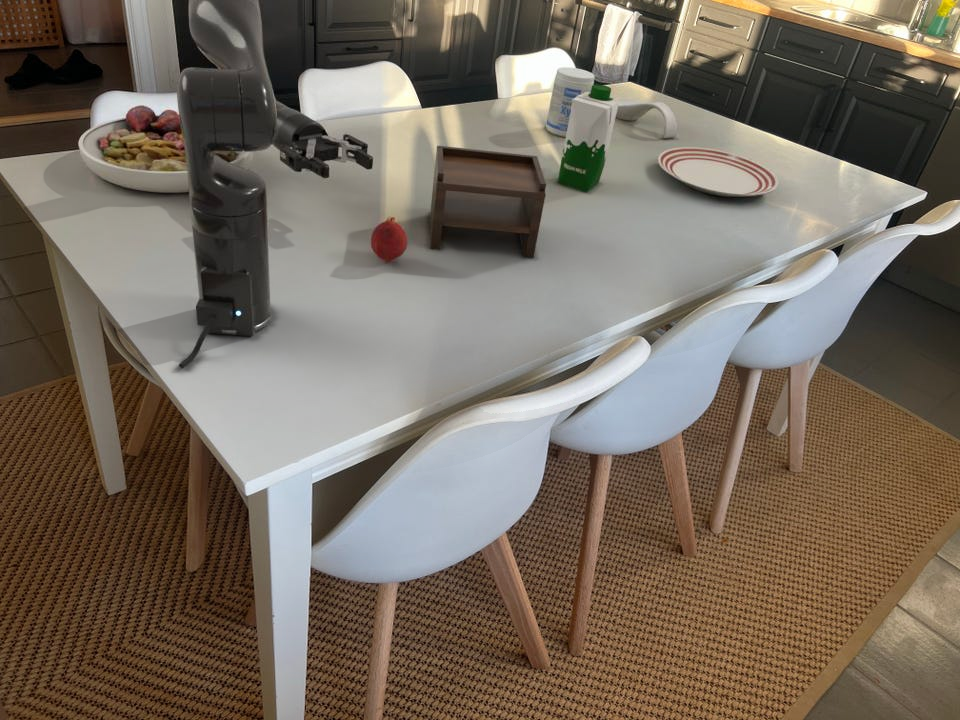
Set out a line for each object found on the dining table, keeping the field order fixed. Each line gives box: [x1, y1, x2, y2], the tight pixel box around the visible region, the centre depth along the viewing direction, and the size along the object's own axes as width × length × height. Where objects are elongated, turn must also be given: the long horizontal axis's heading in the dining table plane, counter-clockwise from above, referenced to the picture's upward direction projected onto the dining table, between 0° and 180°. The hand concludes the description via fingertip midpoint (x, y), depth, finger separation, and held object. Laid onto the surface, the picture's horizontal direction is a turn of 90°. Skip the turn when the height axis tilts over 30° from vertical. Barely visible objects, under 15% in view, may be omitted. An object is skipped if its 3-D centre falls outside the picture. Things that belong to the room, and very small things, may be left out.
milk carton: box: [557, 84, 619, 193], centre depth 157 cm, size 9×9×20 cm
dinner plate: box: [657, 146, 779, 198], centre depth 174 cm, size 27×27×3 cm
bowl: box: [78, 105, 254, 194], centre depth 141 cm, size 30×30×8 cm
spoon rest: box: [612, 97, 678, 139], centre depth 203 cm, size 24×12×7 cm, turn 34°
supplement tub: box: [545, 66, 595, 138], centre depth 187 cm, size 10×10×15 cm
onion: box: [370, 215, 408, 263], centre depth 121 cm, size 6×6×8 cm
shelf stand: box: [429, 145, 547, 259], centre depth 132 cm, size 14×18×13 cm
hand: (349, 168), depth 123 cm, fingers open, 8 cm apart
